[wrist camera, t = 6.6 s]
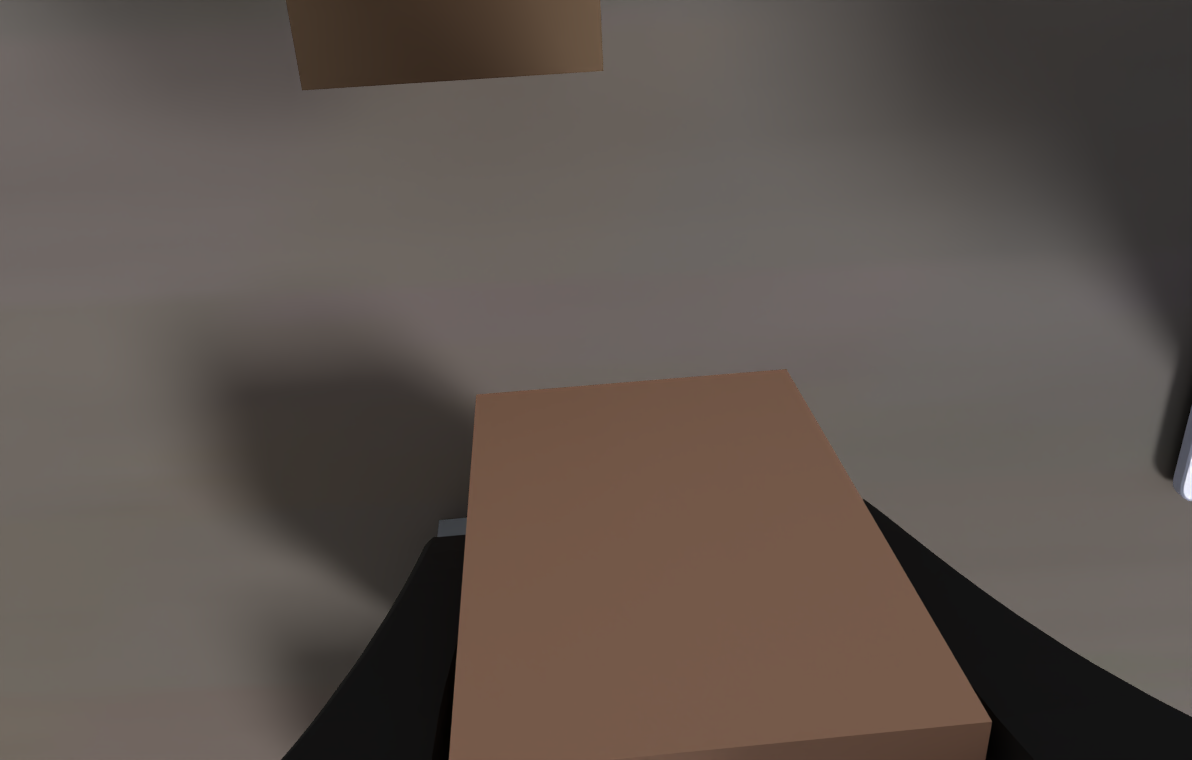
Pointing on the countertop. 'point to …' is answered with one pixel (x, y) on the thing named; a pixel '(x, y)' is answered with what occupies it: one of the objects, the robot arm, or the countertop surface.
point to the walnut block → (441, 40)
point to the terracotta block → (688, 588)
